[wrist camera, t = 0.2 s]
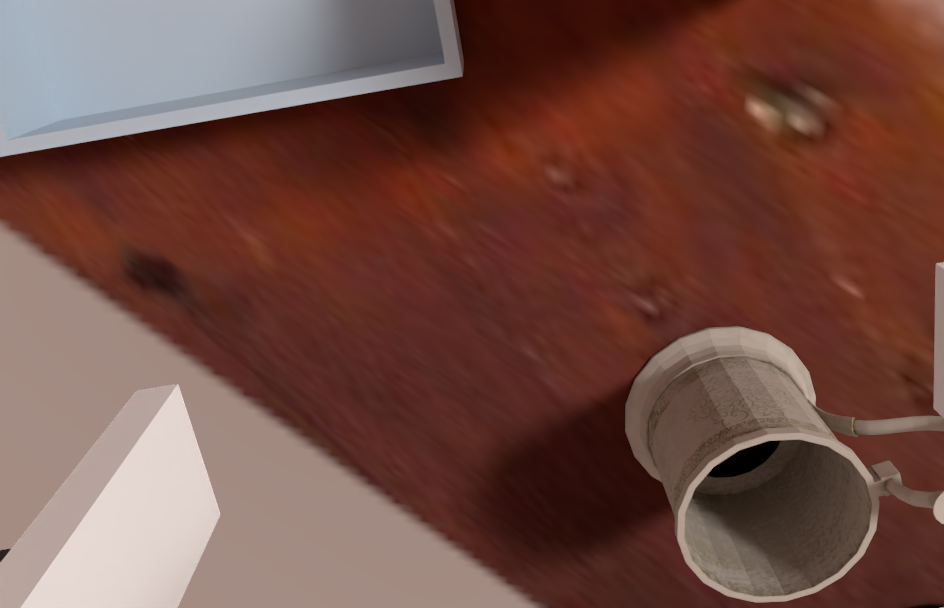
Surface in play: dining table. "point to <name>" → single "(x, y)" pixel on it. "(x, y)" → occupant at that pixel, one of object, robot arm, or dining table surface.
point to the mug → (772, 483)
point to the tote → (203, 60)
